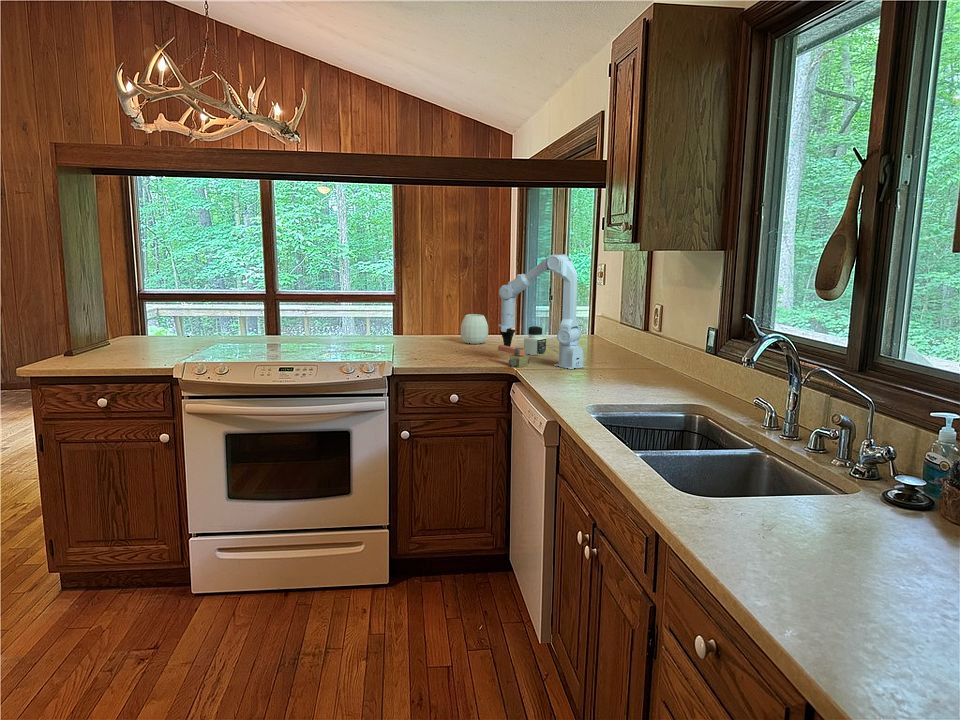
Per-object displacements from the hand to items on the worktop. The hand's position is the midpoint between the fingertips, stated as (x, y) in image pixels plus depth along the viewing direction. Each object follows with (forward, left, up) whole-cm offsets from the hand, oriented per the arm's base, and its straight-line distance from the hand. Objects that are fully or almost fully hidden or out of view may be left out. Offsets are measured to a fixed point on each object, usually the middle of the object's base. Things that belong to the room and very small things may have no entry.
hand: (507, 347), depth 281 cm
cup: (+44, -14, -5) cm, 47 cm away
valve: (-14, +5, -5) cm, 16 cm away
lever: (-9, +5, -1) cm, 10 cm away
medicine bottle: (+5, -19, -5) cm, 20 cm away
